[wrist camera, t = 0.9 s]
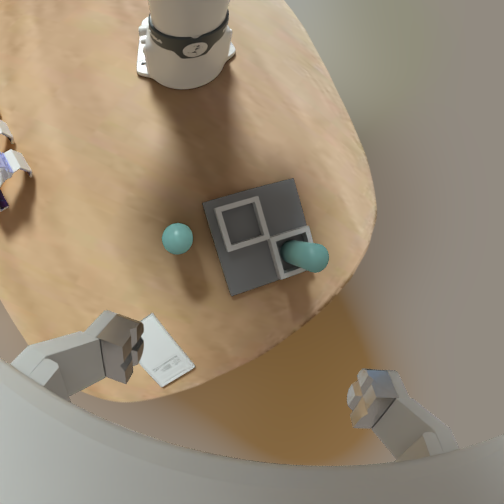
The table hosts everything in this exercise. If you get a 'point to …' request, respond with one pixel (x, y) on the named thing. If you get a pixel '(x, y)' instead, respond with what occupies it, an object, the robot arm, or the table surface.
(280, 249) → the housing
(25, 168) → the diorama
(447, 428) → the robot arm
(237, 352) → the table surface
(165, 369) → the external hard drive
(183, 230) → the jaw peg
